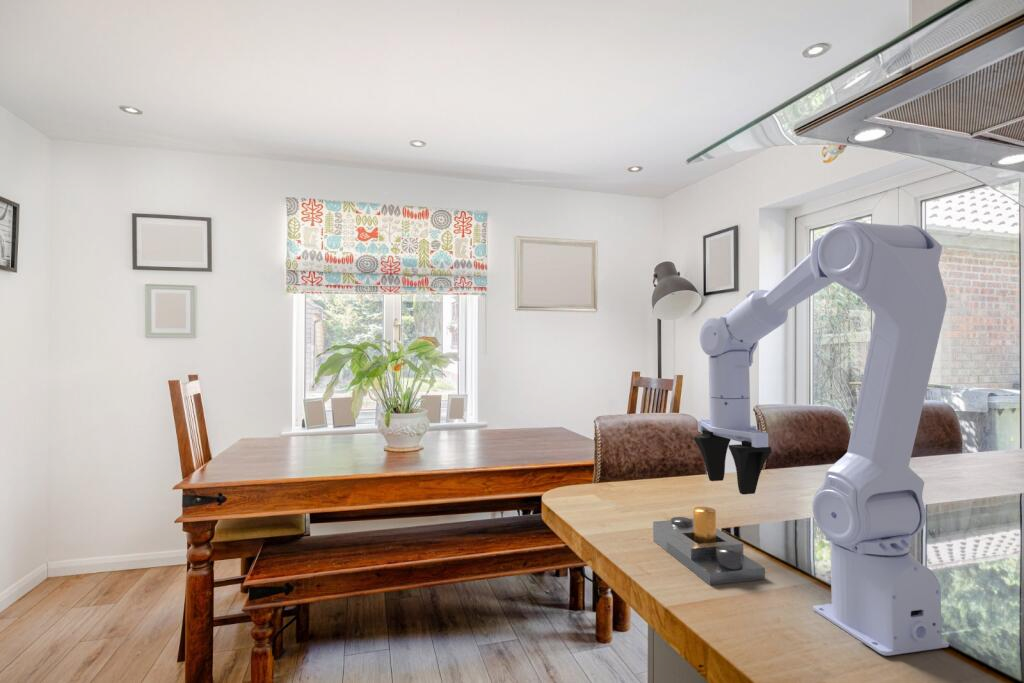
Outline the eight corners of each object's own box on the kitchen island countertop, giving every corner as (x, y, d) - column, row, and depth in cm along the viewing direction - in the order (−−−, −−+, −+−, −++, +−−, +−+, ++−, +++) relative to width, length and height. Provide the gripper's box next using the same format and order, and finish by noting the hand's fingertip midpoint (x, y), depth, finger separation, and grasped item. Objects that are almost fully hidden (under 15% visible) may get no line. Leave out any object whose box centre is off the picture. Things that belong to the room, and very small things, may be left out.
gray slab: (765, 579, 68) (764, 552, 68) (709, 585, 66) (709, 557, 66) (699, 536, 83) (698, 514, 84) (653, 540, 82) (652, 518, 82)
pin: (720, 561, 74) (719, 512, 74) (701, 563, 73) (700, 514, 73) (709, 552, 77) (708, 505, 77) (690, 554, 76) (689, 507, 76)
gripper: (786, 400, 72) (788, 498, 72) (724, 392, 86) (725, 473, 86) (742, 402, 71) (744, 501, 70) (685, 393, 85) (687, 476, 85)
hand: (731, 486), depth 78 cm, fingers open, 7 cm apart
